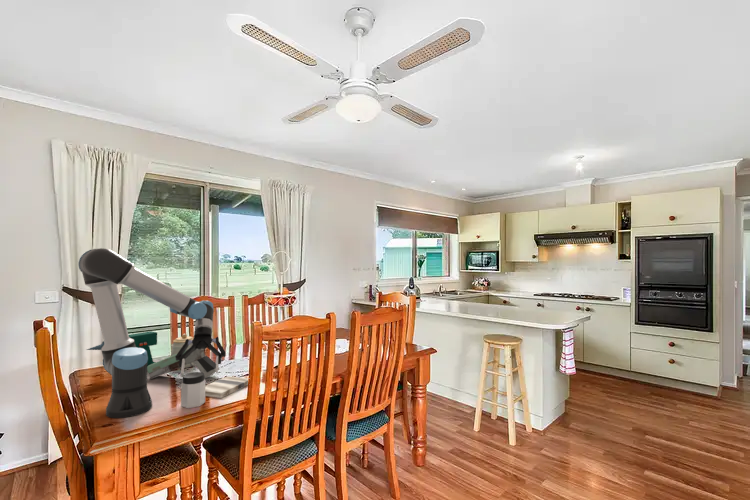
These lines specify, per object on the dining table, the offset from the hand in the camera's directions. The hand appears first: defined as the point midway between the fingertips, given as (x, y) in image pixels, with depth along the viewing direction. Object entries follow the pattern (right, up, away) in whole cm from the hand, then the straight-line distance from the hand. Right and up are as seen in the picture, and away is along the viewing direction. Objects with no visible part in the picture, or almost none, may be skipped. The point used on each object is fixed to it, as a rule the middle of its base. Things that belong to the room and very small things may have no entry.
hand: (199, 372), depth 159 cm
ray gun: (-21, -12, +27) cm, 36 cm away
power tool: (-53, -12, +29) cm, 62 cm away
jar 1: (-32, -12, +48) cm, 59 cm away
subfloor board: (+6, -11, +11) cm, 17 cm away
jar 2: (+1, -11, -7) cm, 13 cm away
